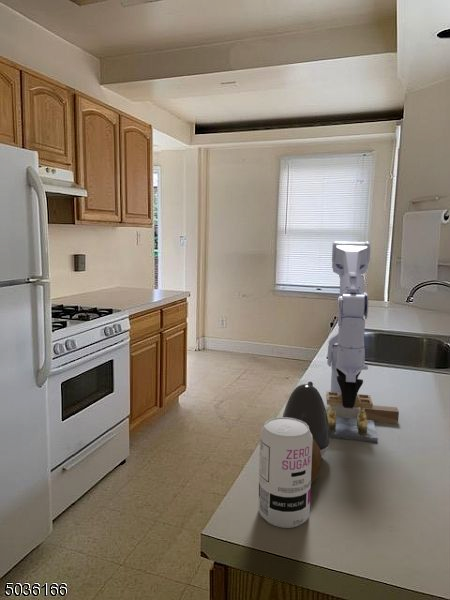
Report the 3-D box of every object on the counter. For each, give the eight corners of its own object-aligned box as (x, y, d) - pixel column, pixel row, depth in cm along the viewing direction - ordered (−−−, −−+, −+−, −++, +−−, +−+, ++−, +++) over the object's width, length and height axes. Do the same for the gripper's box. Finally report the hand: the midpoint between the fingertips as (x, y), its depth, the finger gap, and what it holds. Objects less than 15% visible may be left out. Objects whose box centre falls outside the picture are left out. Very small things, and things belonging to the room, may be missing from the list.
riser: (362, 415, 111) (363, 404, 111) (396, 418, 109) (397, 407, 109) (363, 420, 108) (364, 408, 108) (398, 423, 106) (398, 411, 106)
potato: (259, 488, 78) (260, 442, 76) (288, 460, 87) (290, 419, 86) (303, 504, 73) (305, 456, 72) (329, 473, 83) (331, 430, 82)
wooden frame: (326, 396, 105) (326, 391, 105) (369, 399, 103) (369, 395, 103) (326, 404, 100) (327, 399, 100) (372, 408, 98) (372, 403, 98)
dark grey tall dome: (332, 449, 93) (335, 380, 91) (325, 472, 83) (328, 396, 81) (285, 441, 96) (287, 374, 94) (273, 462, 87) (275, 389, 85)
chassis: (318, 418, 109) (319, 398, 108) (373, 424, 106) (374, 403, 105) (317, 435, 99) (318, 413, 98) (377, 442, 96) (378, 419, 95)
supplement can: (275, 493, 76) (278, 411, 74) (318, 512, 71) (322, 425, 69) (248, 515, 70) (250, 427, 68) (292, 538, 65) (296, 443, 63)
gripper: (371, 354, 92) (368, 416, 94) (366, 340, 106) (363, 393, 108) (337, 352, 93) (334, 413, 95) (336, 338, 107) (333, 391, 109)
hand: (347, 402), depth 101 cm, fingers closed on wooden frame, 6 cm apart
